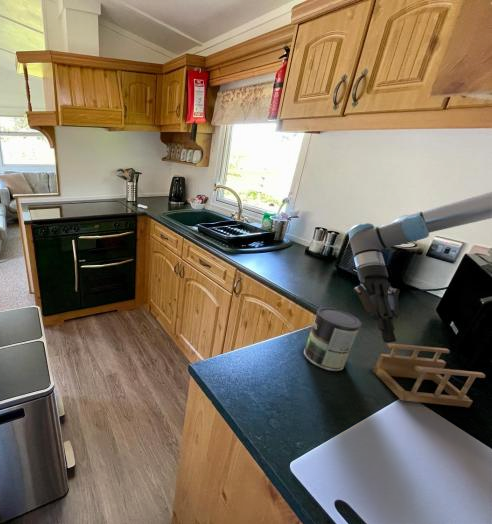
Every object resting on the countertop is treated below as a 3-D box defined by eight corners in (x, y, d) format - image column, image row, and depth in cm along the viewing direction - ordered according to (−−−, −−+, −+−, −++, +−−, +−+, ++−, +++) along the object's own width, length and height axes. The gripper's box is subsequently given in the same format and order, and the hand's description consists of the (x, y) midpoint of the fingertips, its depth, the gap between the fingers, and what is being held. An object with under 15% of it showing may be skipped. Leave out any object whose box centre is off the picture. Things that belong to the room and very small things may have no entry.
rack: (372, 371, 79) (385, 342, 76) (432, 377, 79) (448, 348, 75) (400, 400, 70) (416, 368, 67) (469, 407, 69) (488, 375, 66)
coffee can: (299, 359, 82) (313, 316, 77) (307, 343, 90) (320, 303, 85) (342, 377, 76) (360, 332, 71) (346, 358, 84) (363, 316, 79)
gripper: (382, 274, 97) (401, 345, 88) (343, 270, 98) (358, 341, 88) (400, 265, 91) (424, 341, 81) (358, 261, 91) (376, 337, 81)
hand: (389, 341), depth 85 cm, fingers closed
